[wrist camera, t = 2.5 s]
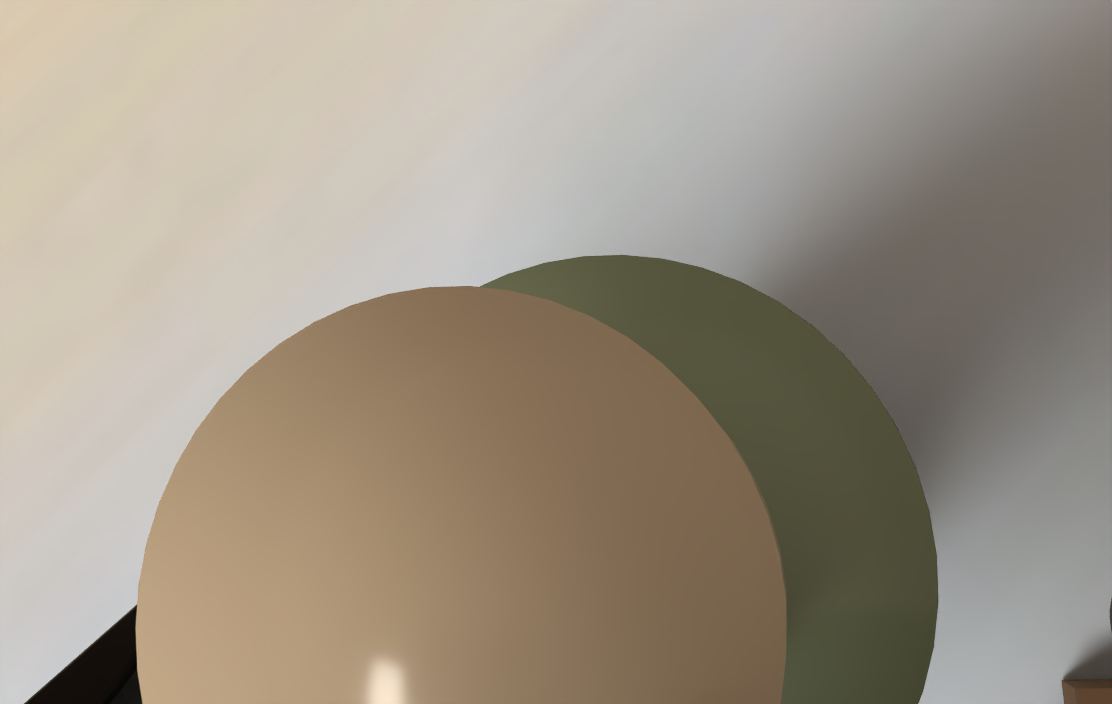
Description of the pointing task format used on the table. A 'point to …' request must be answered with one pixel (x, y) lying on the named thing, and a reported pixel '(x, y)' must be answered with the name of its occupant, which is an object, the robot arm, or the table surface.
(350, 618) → the olive bottle
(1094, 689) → the walnut U-rest
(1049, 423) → the table surface
